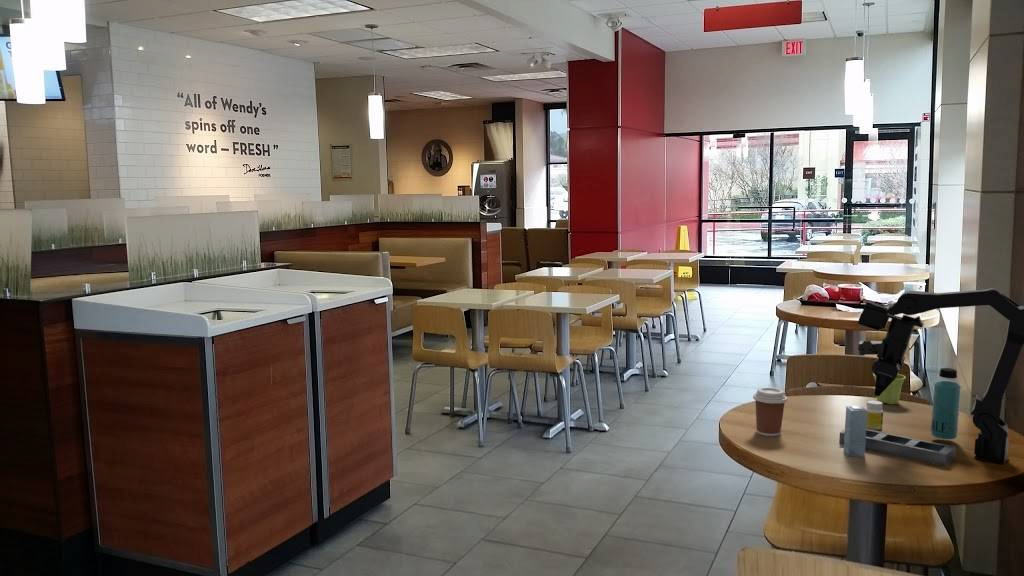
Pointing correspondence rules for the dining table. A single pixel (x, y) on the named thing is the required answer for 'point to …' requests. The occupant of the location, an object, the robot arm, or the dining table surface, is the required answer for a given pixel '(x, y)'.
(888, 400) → the plant pot
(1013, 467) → the dining table surface
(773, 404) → the coffee cup
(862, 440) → the light blue tall block
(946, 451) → the grey slotted rack
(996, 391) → the robot arm
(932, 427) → the beverage bottle
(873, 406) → the supplement bottle
